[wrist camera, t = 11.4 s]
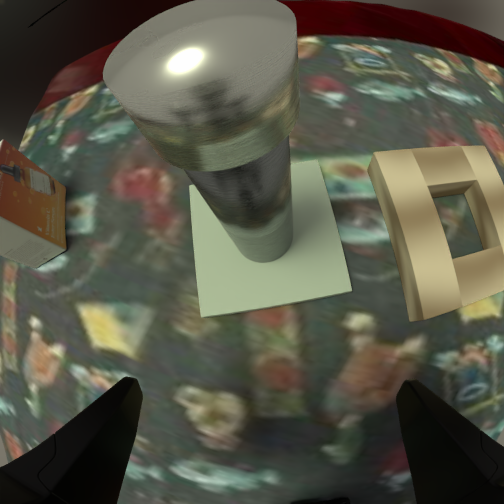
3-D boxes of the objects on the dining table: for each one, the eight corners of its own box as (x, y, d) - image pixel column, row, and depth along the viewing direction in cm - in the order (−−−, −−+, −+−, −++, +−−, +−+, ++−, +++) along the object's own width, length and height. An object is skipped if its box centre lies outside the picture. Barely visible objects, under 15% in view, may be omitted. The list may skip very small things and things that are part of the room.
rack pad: (349, 292, 18) (351, 290, 17) (205, 317, 19) (201, 317, 18) (316, 166, 21) (317, 159, 20) (193, 191, 22) (189, 185, 21)
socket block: (515, 282, 16) (532, 276, 13) (409, 321, 17) (424, 319, 15) (472, 160, 19) (484, 145, 17) (367, 170, 21) (373, 152, 18)
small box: (68, 251, 23) (-15, 211, 13) (35, 270, 23) (-41, 240, 13) (67, 185, 25) (3, 136, 15) (36, 207, 26) (-26, 167, 16)
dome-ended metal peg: (313, 233, 19) (339, 20, 4) (262, 283, 18) (158, 130, 4) (264, 189, 20) (212, -12, 6) (214, 234, 20) (83, 66, 6)
